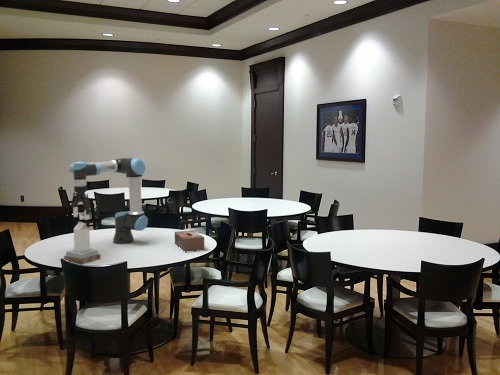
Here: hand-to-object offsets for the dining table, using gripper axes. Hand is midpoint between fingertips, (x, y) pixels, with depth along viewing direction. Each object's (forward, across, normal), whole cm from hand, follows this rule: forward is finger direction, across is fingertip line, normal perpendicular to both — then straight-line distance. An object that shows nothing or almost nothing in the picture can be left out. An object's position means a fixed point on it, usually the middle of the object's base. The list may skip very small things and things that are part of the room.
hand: (81, 218), depth 300 cm
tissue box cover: (+28, +27, +70) cm, 80 cm away
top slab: (+25, 0, 0) cm, 25 cm away
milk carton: (+22, 0, 0) cm, 22 cm away
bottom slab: (+28, 0, 0) cm, 28 cm away
